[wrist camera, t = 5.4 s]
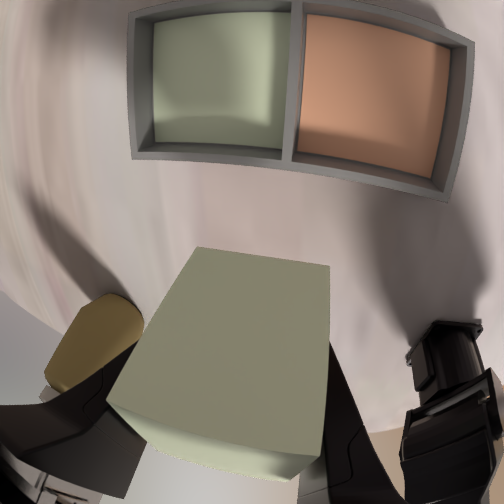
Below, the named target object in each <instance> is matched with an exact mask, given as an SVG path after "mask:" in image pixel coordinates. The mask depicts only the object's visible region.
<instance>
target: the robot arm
mask: <svg viewBox="0 0 504 504" xmlns="http://www.w3.org/2000/svg"><path fill="white" fill-rule="evenodd" d="M482 331H483V327H482V325H479V324H467V323H456V322H445V321H435V322H433V323H432V325H431V326H430V328H429V329H428V331H427V332H426V334H425V335H424V337H423V338H422V340H421V341H420V343H419V344H418V345H417V347H416V348H415V350H414V351H413V353H412V354H411V355H410V357H409V358H408V359H407V361H406V363H407V366H409V367H412V372H413V379H414V387H415V391H416V392H419V398H420V407H418V408H416V409H411V410H409V411H407V412H406V419H405V425H404V430H403V436H402V441H401V446H400V451H399V457H400V461H401V462H400V464H401V468H402V470H403V474H404V480H405V500H404V499H403V498H402V497H401V496H400V495H399V493H398V492H397V490H396V489H395V487H394V486H393V484H392V482H391V480H390V478H389V476H388V475H387V473H386V471H385V469H384V467H383V465H382V463H381V462H380V460H379V458H378V456H377V454H376V452H375V450H374V448H373V446H372V443H371V441H370V439H369V436H368V434H367V431H366V428H365V426H364V425H363V421H362V418H361V416H360V413H359V411H358V408H357V406H356V403H355V401H354V398H353V396H352V393H351V391H350V389H349V386H348V384H347V381H346V379H345V376H344V374H343V372H342V369H341V367H340V364H339V362H338V360H337V357H336V355H335V353H334V350H333V348H332V346H331V343H330V341H329V360H328V378H327V393H326V405H325V416H324V426H323V435H322V444H321V452H320V456H319V457H318V458H317V459H316V460H315V461H313V462H312V463H311V464H310V465H309V466H307V467H306V468H305V469H304V470H302V471H301V472H300V479H299V489H298V499H297V504H489V487H490V485H491V483H492V480H493V478H494V476H495V474H496V471H497V469H498V466H499V464H500V461H501V459H502V456H503V453H504V448H503V441H502V437H504V391H503V388H502V384H501V381H500V380H499V378H498V377H497V375H496V374H495V373H494V371H493V370H492V368H491V367H489V368H488V369H486V370H485V369H484V366H483V362H482V359H481V356H480V352H479V349H478V346H477V343H476V339H477V338H478V337H479V335H480V334H481V333H482ZM138 341H139V340H137V341H136V342H135V343H133V344H132V345H131V346H129V347H128V348H127V349H125V350H124V351H123V352H121V353H120V354H119V355H117V356H116V357H115V358H113V359H112V360H111V361H109V362H108V363H107V364H105V365H104V366H103V367H101V368H100V369H99V370H97V371H96V372H95V373H93V374H92V375H90V376H89V377H88V378H86V379H85V380H83V381H82V382H80V383H78V384H77V385H75V386H74V387H72V388H70V389H68V390H67V391H65V392H63V393H62V394H60V395H58V396H56V397H55V398H53V399H51V400H49V401H47V402H44V403H40V404H30V405H0V504H99V502H100V500H101V498H102V495H103V494H106V495H109V496H113V497H117V498H121V499H124V497H125V496H126V493H127V491H128V488H129V486H130V483H131V481H132V478H133V476H134V473H135V471H136V468H137V466H138V463H139V461H140V458H141V456H142V453H143V451H144V449H145V446H146V444H147V441H146V440H145V439H144V438H143V437H141V436H140V435H139V434H138V433H137V432H136V431H135V430H134V429H133V428H132V427H131V426H130V425H129V424H128V423H127V422H126V421H125V420H124V419H123V418H122V417H121V416H120V415H119V414H118V413H117V412H116V411H115V409H114V408H113V407H112V406H111V405H110V404H109V403H108V402H107V401H106V399H107V397H108V395H109V393H110V391H111V389H112V387H113V386H114V384H115V382H116V380H117V378H118V376H119V375H120V373H121V371H122V369H123V367H124V366H125V364H126V362H127V360H128V359H129V357H130V355H131V353H132V352H133V350H134V348H135V346H136V345H137V343H138ZM489 395H490V397H489V398H487V396H489Z"/></svg>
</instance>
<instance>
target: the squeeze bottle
mask: <svg viewBox="0 0 504 504" xmlns="http://www.w3.org/2000/svg"><path fill="white" fill-rule="evenodd" d="M143 328H144V320H143V318H142V315H141V314H140V313H139V311H138V310H137V309H136V308H135V307H134V306H133V305H132V304H131V303H130V302H129V301H127V300H126V299H124V298H122V297H120V296H118V295H115V294H105V295H103V296H101V297H100V298H98V299H96V300H94V301H93V302H91V303H89V304H87V305H85V306H84V307H82V308H81V309H80V311H79V312H78V314H77V316H76V317H75V319H74V320H73V322H72V324H71V325H70V327H69V328H68V330H67V332H66V333H65V335H64V337H63V338H62V340H61V342H60V344H59V346H58V347H57V349H56V351H55V352H54V354H53V356H52V358H51V360H50V361H49V363H48V365H47V367H46V369H45V371H44V374H45V378H46V379H47V381H48V383H49V384H50V386H51V387H49V386H47V385H46V387H45V388H44V390H43V391H42V393H41V394H40V396H39V398H40V399H41V400H42V402H43V403H44V402H47V401H49V400H51V399H53V398H55V397H56V396H58V395H60V394H62V393H63V392H65V391H67V390H68V389H70V388H72V387H74V386H75V385H77V384H78V383H80V382H82V381H83V380H85V379H86V378H88V377H89V376H90V375H92V374H93V373H95V372H96V371H97V370H99V369H100V368H101V367H103V366H104V365H105V364H107V363H108V362H109V361H111V360H112V359H113V358H115V357H116V356H117V355H119V354H120V353H121V352H123V351H124V350H125V349H127V348H128V347H129V346H131V345H132V344H133V343H135V342H136V341H137V340H139V339H140V338H141V336H142V334H143Z"/></svg>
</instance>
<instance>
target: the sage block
mask: <svg viewBox="0 0 504 504" xmlns="http://www.w3.org/2000/svg"><path fill="white" fill-rule="evenodd" d="M329 333H330V266H327V265H320V264H313V263H306V262H299V261H293V260H286V259H279V258H272V257H265V256H258V255H251V254H244V253H238V252H231V251H224V250H217V249H210V248H204V247H196V249H195V250H194V252H193V254H192V255H191V257H190V258H189V260H188V261H187V263H186V264H185V266H184V267H183V269H182V271H181V272H180V274H179V275H178V277H177V278H176V280H175V282H174V283H173V285H172V286H171V288H170V290H169V291H168V293H167V294H166V296H165V298H164V299H163V301H162V303H161V304H160V306H159V308H158V309H157V311H156V312H155V314H154V316H153V317H152V319H151V321H150V322H149V324H148V326H147V328H146V329H145V331H144V333H143V334H142V336H141V338H140V339H139V341H138V343H137V345H136V346H135V348H134V350H133V352H132V353H131V355H130V357H129V359H128V360H127V362H126V364H125V366H124V367H123V369H122V371H121V373H120V375H119V376H118V378H117V380H116V382H115V384H114V386H113V387H112V389H111V391H110V393H109V395H108V397H107V399H106V401H107V402H108V403H109V404H110V405H111V406H112V407H113V408H114V409H115V411H116V412H117V413H118V414H119V415H120V416H121V417H122V418H123V419H124V420H125V421H126V422H127V423H128V424H129V425H130V426H131V427H132V428H133V429H134V430H135V431H136V432H137V433H138V434H139V435H140V436H141V437H143V438H144V439H145V440H146V441H147V442H148V443H149V444H150V445H151V446H152V447H154V448H155V449H156V450H157V451H159V452H162V453H164V454H167V455H170V456H173V457H176V458H179V459H182V460H185V461H189V462H192V463H195V464H198V465H202V466H206V467H209V468H213V469H217V470H221V471H225V472H230V473H234V474H239V475H244V476H249V477H255V478H261V479H267V480H274V481H282V482H288V481H289V480H291V479H292V478H293V477H295V476H296V475H297V474H299V473H300V472H301V471H302V470H304V469H305V468H306V467H307V466H309V465H310V464H311V463H312V462H313V461H315V460H316V459H317V458H318V457H319V456H320V452H321V444H322V435H323V426H324V416H325V405H326V393H327V378H328V360H329Z"/></svg>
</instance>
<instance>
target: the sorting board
mask: <svg viewBox="0 0 504 504" xmlns="http://www.w3.org/2000/svg"><path fill="white" fill-rule="evenodd" d="M474 58H475V42H473V41H471V40H469V39H467V38H465V37H463V36H461V35H459V34H457V33H455V32H452V31H450V30H448V29H446V28H443V27H441V26H438V25H436V24H433V23H431V22H428V21H425V20H423V19H420V18H417V17H414V16H411V15H408V14H405V13H401V12H398V11H395V10H391V9H387V8H384V7H380V6H376V5H371V4H367V3H362V2H357V1H352V0H180V1H175V2H170V3H165V4H161V5H156V6H152V7H148V8H144V9H141V10H137V11H134V12H130V13H129V15H128V32H127V103H128V121H129V135H130V146H131V156H132V160H172V161H193V162H208V163H222V164H233V165H244V166H254V167H263V168H271V169H280V170H287V171H295V172H302V173H308V174H315V175H321V176H327V177H333V178H339V179H344V180H350V181H355V182H360V183H365V184H370V185H375V186H380V187H385V188H389V189H394V190H398V191H402V192H406V193H411V194H415V195H419V196H423V197H427V198H430V199H434V200H438V201H441V202H445V203H448V200H449V197H450V194H451V191H452V187H453V184H454V180H455V177H456V173H457V169H458V165H459V161H460V157H461V153H462V148H463V144H464V139H465V134H466V129H467V123H468V117H469V111H470V103H471V96H472V86H473V75H474Z"/></svg>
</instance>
